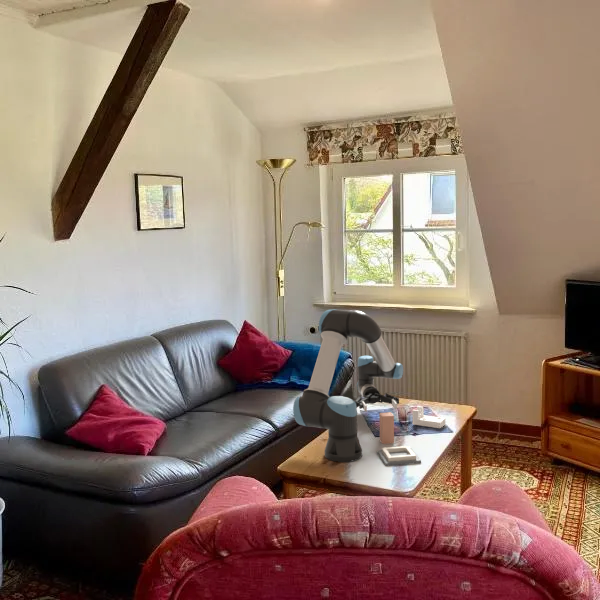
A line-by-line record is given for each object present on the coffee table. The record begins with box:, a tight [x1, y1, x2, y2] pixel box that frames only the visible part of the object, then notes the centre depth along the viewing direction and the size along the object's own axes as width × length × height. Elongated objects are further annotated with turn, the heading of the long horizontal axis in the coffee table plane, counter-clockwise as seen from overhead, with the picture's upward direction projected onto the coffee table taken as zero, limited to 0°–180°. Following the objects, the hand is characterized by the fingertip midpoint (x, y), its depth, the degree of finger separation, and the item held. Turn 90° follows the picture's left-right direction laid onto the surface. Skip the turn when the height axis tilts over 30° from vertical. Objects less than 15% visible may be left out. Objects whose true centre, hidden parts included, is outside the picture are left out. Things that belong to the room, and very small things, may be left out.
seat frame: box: [376, 445, 422, 466], centre depth 264 cm, size 14×14×2 cm
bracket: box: [411, 405, 446, 429], centre depth 302 cm, size 13×7×8 cm, turn 59°
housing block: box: [379, 411, 395, 445], centre depth 283 cm, size 5×5×12 cm
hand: (381, 407), depth 292 cm, fingers open, 13 cm apart
